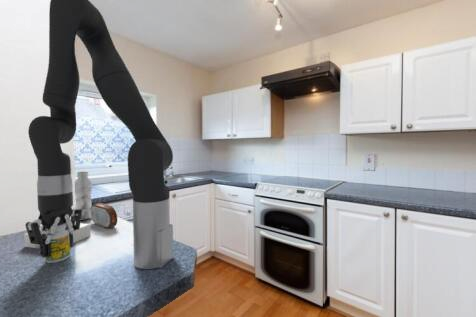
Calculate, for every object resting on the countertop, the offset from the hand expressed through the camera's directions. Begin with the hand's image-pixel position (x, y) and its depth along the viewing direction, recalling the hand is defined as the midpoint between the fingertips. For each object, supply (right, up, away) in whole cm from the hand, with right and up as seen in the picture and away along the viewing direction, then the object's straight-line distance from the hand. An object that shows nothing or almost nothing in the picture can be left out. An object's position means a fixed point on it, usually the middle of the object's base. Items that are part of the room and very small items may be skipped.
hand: (57, 251), depth 63 cm
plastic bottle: (-15, 0, +33) cm, 36 cm away
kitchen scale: (-9, -1, +12) cm, 15 cm away
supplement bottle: (0, -2, 0) cm, 2 cm away
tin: (-3, -1, +26) cm, 26 cm away
